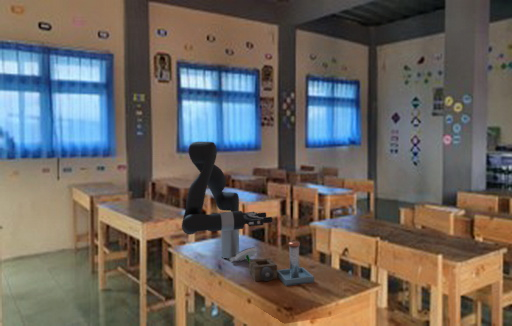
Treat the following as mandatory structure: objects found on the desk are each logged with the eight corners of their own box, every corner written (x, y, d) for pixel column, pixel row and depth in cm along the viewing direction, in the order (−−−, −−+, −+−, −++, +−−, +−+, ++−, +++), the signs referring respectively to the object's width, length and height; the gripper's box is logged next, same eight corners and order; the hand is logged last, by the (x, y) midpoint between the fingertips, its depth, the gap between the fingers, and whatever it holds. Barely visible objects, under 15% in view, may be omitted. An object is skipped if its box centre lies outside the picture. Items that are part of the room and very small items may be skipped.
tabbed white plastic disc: (252, 255, 210) (258, 239, 205) (260, 266, 205) (266, 250, 200) (227, 261, 202) (233, 244, 196) (234, 273, 196) (241, 256, 191)
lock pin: (287, 275, 179) (286, 241, 178) (297, 274, 180) (297, 240, 179) (291, 279, 174) (290, 244, 173) (301, 278, 176) (301, 243, 175)
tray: (276, 275, 182) (276, 270, 182) (302, 272, 185) (302, 267, 185) (285, 286, 170) (285, 280, 170) (314, 282, 173) (313, 276, 173)
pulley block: (249, 273, 186) (248, 260, 185) (270, 271, 188) (270, 258, 188) (256, 283, 174) (256, 269, 173) (279, 280, 176) (278, 266, 176)
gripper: (234, 215, 161) (274, 212, 165) (227, 208, 174) (263, 205, 179) (235, 234, 162) (274, 230, 166) (228, 225, 175) (264, 221, 180)
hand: (269, 217), depth 172 cm, fingers open, 8 cm apart
